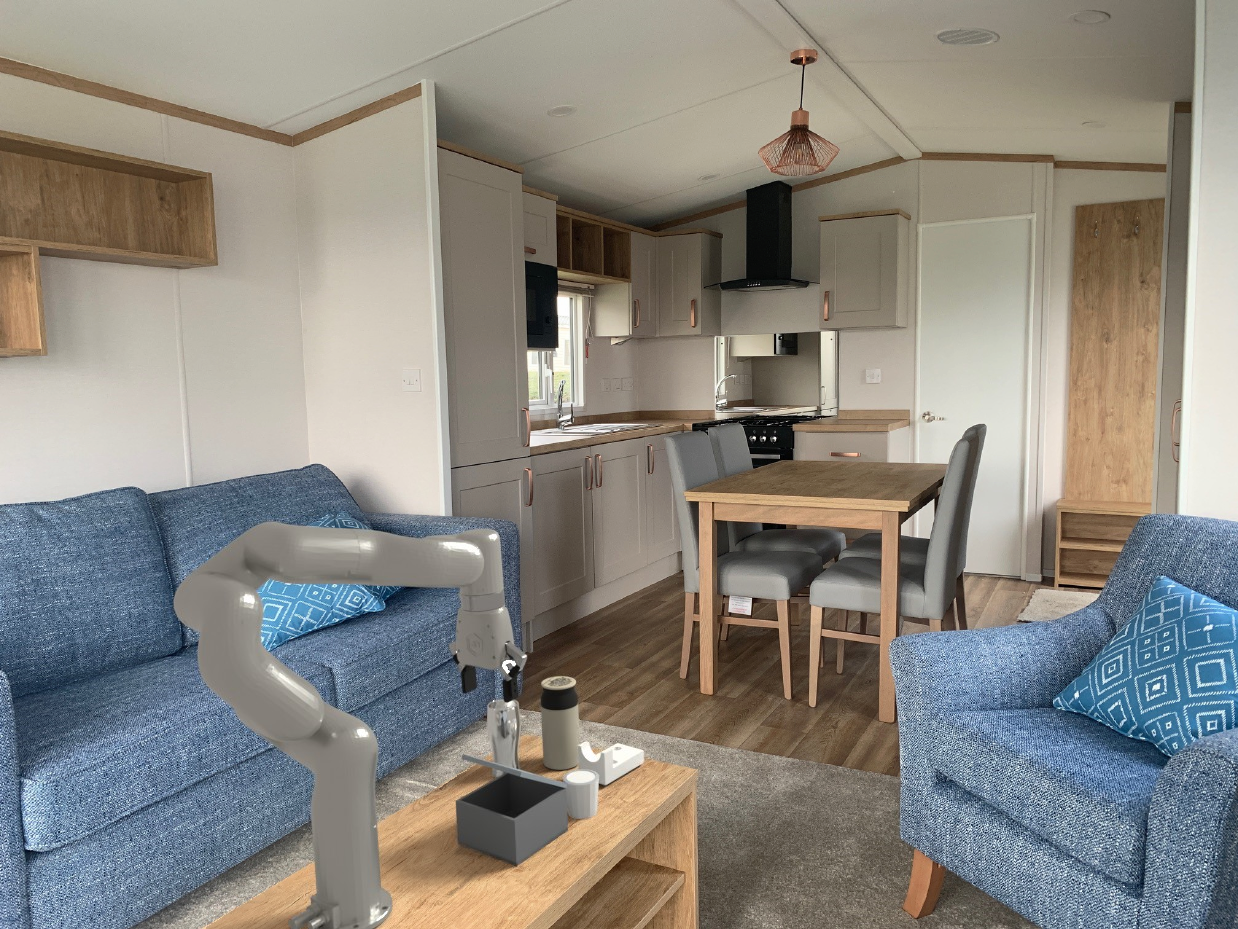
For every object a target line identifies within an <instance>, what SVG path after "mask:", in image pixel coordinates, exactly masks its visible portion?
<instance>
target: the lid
mask: <svg viewBox="0 0 1238 929" xmlns="http://www.w3.org/2000/svg"><path fill="white" fill-rule="evenodd" d="M460 759H461V760H463V761H466V762H470V763H474V764H476V765H477V764H478V765H480V766H484V767H487V768H490V769H492V768H493V769H496V770H500V771H503V772H506V773H510V774H513V775H516V776H520V777H524V778H528V779H532V780H536V781H540V782H544V783H548V784H552V785H556V786H560V787H564V788H566V787H567V783H564V782H563V781H560V780H555V779H553V778H549V777H546V776H542V775H539V774H535V773H533V772H529V771H526V770H522V769H521V768H520V769H521V770H520V769H516V768H513V767H509V766H505V765H502V764H498V763H494V762H493V761H490V760H485V759H482V758H480V757H479V758H477V757H474V756H470V755H466V754H464V753H463V754H462V755H461V758H460Z"/></svg>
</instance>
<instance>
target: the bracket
mask: <svg viewBox="0 0 1238 929" xmlns="http://www.w3.org/2000/svg"><path fill="white" fill-rule="evenodd" d="M644 753H645V751H644V750H643V749H640V748H636V747H632V746H631V745H626V744H623V743H618V742H616V743H615V744H613V745H611V746H609V747H608V748H606V749H604V750H602V751H600V752H599V753H596V754H595V753H594V751H593V750H592V748H591V744H590V742H589V741H588V740H587V741H584V742H580V745H578V769H587V770H593V771H595V772H597V773H598V775H599V784H600V785H603V786H607V785H608V784H610V783H612V782H614V781H615V780H618V779H619V778H620V777H623V776H624V775H625V774H627V773H629V772H630V771H632V770H634V769H635V768H637V767H638V766H640V765H643V764H644V763H645V754H644Z"/></svg>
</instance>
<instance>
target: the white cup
mask: <svg viewBox="0 0 1238 929" xmlns="http://www.w3.org/2000/svg"><path fill="white" fill-rule="evenodd" d="M562 780H563V781H562V782H564V783H567V787H566V795H567V816H569V817H570V818H572V819H577V820H586V819H587V820H588V819H591V818H592V817H594V816H595V815H596V814H597V813H598V802H599V801H598V800H599V784H600V783H599V775H598V773H597V772H595V771H593V770H587V769H579V768H578V769H574V770H570V771H568V772H566V773H565V774H564V775H563V778H562Z"/></svg>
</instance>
